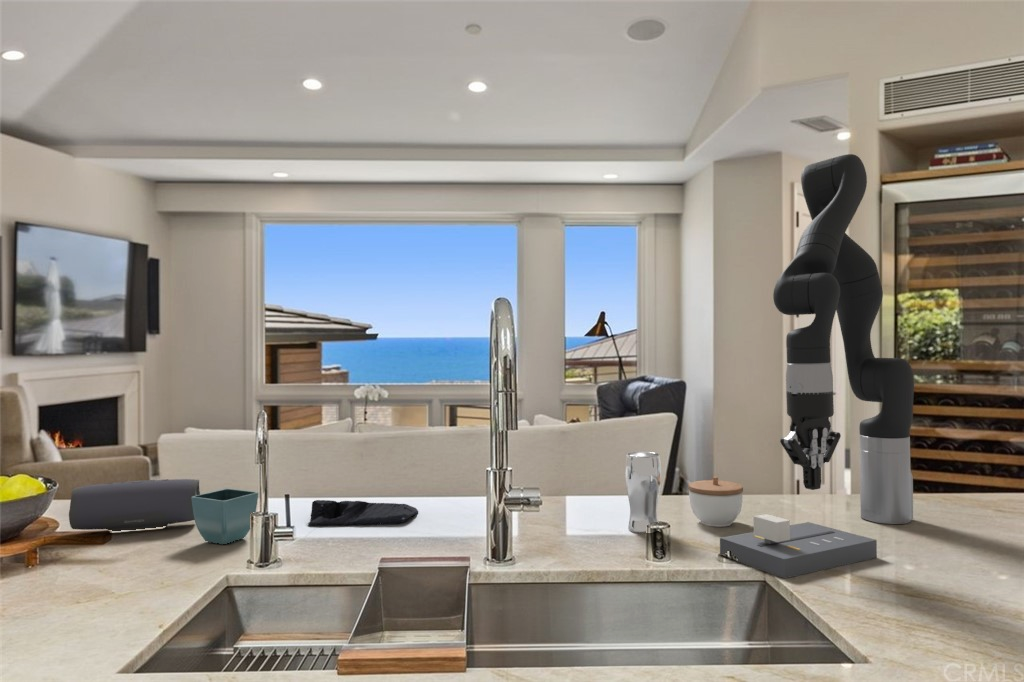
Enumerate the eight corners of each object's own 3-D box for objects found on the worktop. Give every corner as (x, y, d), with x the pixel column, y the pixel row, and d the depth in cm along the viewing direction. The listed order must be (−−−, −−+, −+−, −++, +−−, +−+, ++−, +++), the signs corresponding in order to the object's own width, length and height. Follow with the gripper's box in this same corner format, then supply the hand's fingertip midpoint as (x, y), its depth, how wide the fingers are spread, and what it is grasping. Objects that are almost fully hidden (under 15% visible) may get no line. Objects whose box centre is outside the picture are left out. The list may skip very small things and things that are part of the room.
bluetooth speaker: (201, 519, 154) (200, 473, 154) (196, 530, 145) (195, 481, 145) (81, 529, 147) (80, 480, 147) (68, 541, 138) (67, 489, 138)
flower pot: (260, 537, 139) (259, 491, 139) (224, 549, 131) (224, 500, 131) (226, 532, 143) (226, 488, 143) (190, 544, 135) (189, 496, 135)
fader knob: (766, 537, 123) (766, 514, 123) (789, 544, 118) (789, 520, 118) (753, 539, 121) (753, 516, 121) (776, 547, 117) (776, 522, 117)
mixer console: (808, 538, 134) (808, 521, 134) (876, 557, 121) (876, 539, 121) (720, 555, 124) (719, 537, 124) (784, 578, 111) (784, 558, 111)
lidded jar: (685, 527, 143) (684, 480, 143) (692, 515, 153) (692, 471, 153) (741, 531, 139) (740, 483, 139) (745, 519, 149) (744, 474, 149)
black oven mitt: (405, 530, 145) (405, 506, 145) (301, 528, 147) (301, 505, 147) (422, 512, 160) (422, 491, 160) (327, 511, 162) (327, 490, 162)
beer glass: (661, 535, 137) (661, 457, 137) (625, 533, 138) (624, 456, 138) (661, 526, 144) (660, 451, 144) (626, 524, 145) (625, 450, 145)
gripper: (817, 385, 130) (820, 480, 130) (765, 390, 124) (768, 490, 124) (853, 387, 123) (856, 487, 124) (800, 392, 117) (804, 498, 117)
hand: (812, 488), depth 124 cm, fingers closed
